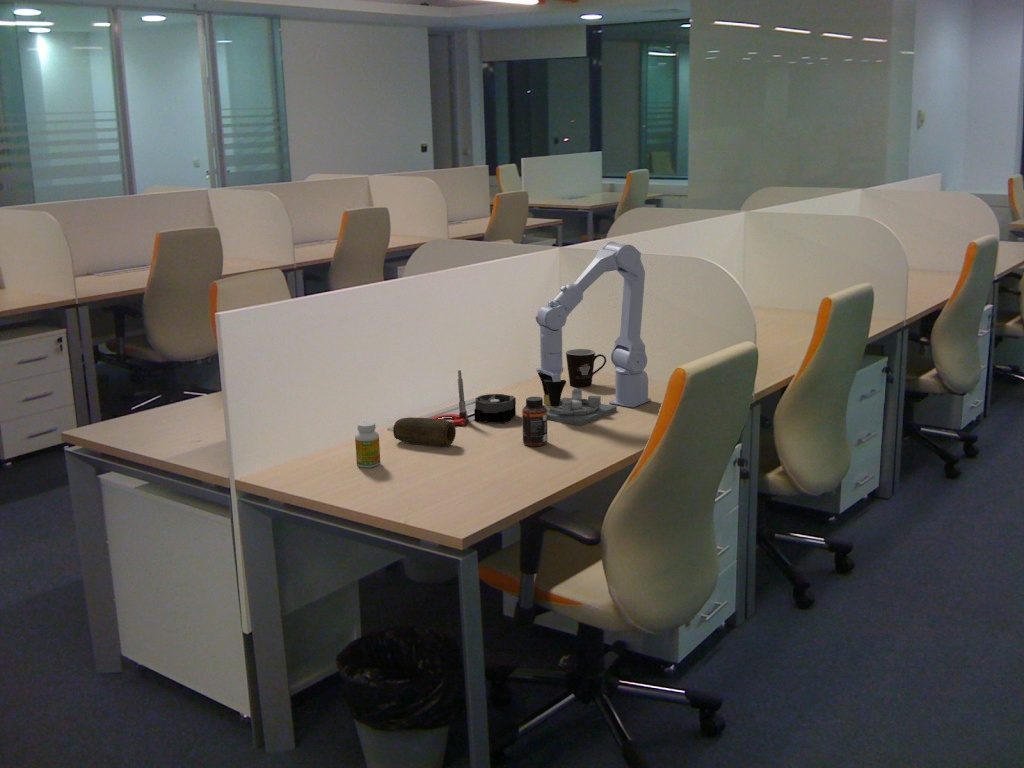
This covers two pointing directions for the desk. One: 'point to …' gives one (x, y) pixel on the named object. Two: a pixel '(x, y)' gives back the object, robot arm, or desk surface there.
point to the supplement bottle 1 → (367, 445)
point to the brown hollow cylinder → (425, 431)
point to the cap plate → (580, 419)
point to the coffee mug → (581, 367)
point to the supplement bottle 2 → (534, 422)
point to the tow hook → (463, 413)
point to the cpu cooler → (495, 408)
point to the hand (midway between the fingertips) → (552, 402)
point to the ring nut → (567, 404)
